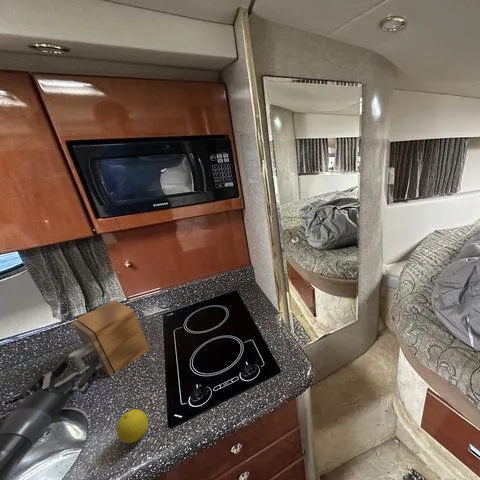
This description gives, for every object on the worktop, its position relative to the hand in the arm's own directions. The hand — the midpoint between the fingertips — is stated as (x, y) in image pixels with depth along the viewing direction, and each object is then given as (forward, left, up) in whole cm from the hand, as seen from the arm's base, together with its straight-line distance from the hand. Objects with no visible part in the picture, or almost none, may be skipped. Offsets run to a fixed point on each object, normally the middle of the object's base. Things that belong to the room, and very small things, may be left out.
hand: (81, 360), depth 69 cm
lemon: (-2, -28, -8) cm, 30 cm away
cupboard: (+9, +3, -8) cm, 13 cm away
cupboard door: (+1, +3, -8) cm, 8 cm away
